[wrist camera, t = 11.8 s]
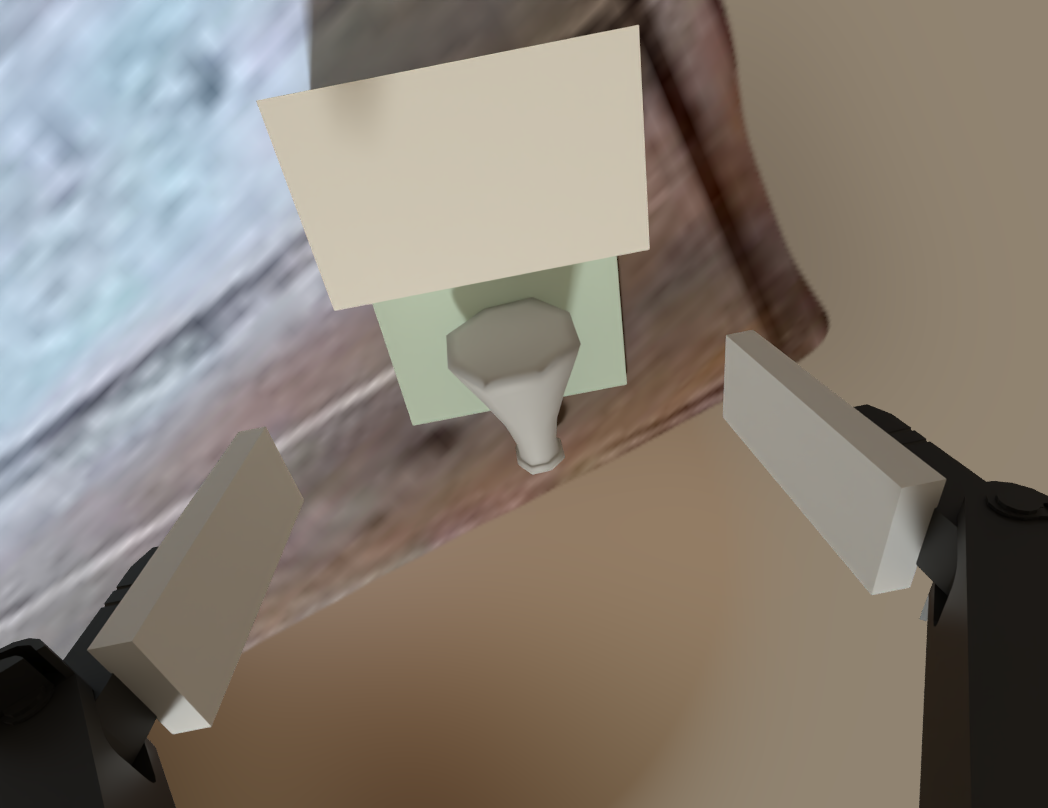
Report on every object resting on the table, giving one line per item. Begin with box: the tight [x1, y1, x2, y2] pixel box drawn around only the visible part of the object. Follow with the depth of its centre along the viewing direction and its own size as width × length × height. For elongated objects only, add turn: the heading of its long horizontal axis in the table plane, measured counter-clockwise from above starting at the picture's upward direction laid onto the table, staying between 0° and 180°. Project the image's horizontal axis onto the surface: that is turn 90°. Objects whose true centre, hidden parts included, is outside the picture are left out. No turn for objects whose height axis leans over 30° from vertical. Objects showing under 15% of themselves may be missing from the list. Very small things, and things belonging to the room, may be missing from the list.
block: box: [256, 25, 650, 311], centre depth 23 cm, size 8×14×7 cm, turn 100°
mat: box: [372, 256, 627, 426], centre depth 30 cm, size 10×14×1 cm
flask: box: [446, 297, 581, 475], centre depth 30 cm, size 7×7×10 cm
